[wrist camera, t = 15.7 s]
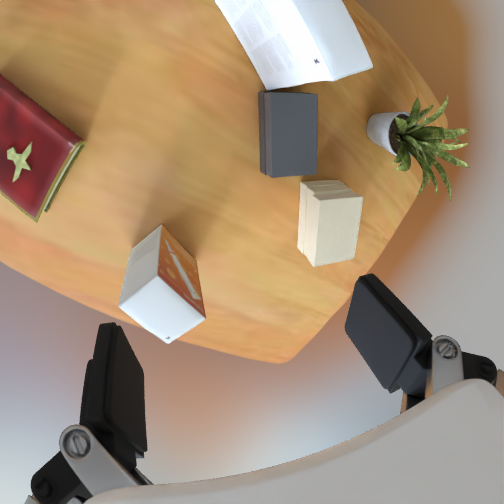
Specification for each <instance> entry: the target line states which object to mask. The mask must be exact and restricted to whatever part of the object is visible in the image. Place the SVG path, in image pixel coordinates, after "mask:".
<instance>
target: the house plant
mask: <svg viewBox="0 0 504 504" xmlns="http://www.w3.org/2000/svg"><path fill="white" fill-rule="evenodd" d="M447 103H448V96H447V98H446V100H445V102H444V104H443V105H442V106H441V108H440V109H439V110H438V111H437V112H436V113H435V114H434V115H432V116H431V117H430V118H428V119H427V118H426V117H425V118H424V121H423V122H422V123H421V124H419V125H418V124H417V122H418V121H419V120H420V119H421V118H422V117H423V116H425V115H426V114H427V113H428V112H429V111H430V110H431V108H432V107H433V105H432V106H430V107H429V108H427V109H425V110H423V111H421V112H420V113H419V111H420V102H419V100H418V97H417V99H416V101H415V102H414V105H413V108H412V111H411V113H410V114H409V113H408V112H388V113H377V114H373V115H372V116H371V117H370V118H369V120H368V123H367V135H368V137H369V139H370V140H371V141H372V142H374V143H375V144H377V145H379V146H381V147H382V148H384V149H386V150H387V151H389V152H391V153H392V154H394V155H396V159H395V161H394V162H393V163H398V162H401V164H400V166H399V167H398V168H395V169H399V170H402V171H407V170H409V168H410V165H411V158H410V155H411V154H412V155H413V157H414V158H415V159H416V160H417V161H418V163H419V164H420V166H421V168H422V170H423V181H422V185H421V187H420V189H419V192H418V195H419V194H420V193H421V192H422V190H423V189H424V187H425V185H426V182H427V181H428V185H429V182H430V179H429V174H430V176H431V179H432V181H433V183H434V185H435V189H436V194H437V182H436V179H435V176H434V174H433V172H432V171H431V168H432V164H433V165H434V166H435V167H436V169H437V170H438V171H439V173H440V175H441V177H442V178H443V181H444V183H445V185H446V186H447V189H448V192H449V198H450V200H451V185H450V182H449V179H448V177H447V174H446V172H445V171H444V169H443V168H442V166H441V165H440V164H439V163H438V162H437V161H436V160H435V159H436V157H435V155H437V156H439V157H440V158H442V159H444V160H446V161H448V162H450V163H452V164H454V165H458V166H464V167H466V168H468V167H469V166H468V165H467V164H466V163H465V162H463V161H462V160H460V159H458V158H456V157H454V156H452V155H450V154H449V153H447V152H445V151H443V150H441V149H447V150H454V149H458V148H461V147H463V146H465V145H466V144H467V143H466V144H460V145H452V144H455V143H452V144H444V143H442V141H441V139H455V140H456V141H457V142H459V143H460V141H459V140H457V139H456V137H458V136H459V135H462V134H464V133H466V132H467V131H468V130H469V129H443V128H442V127H441V128H440V127H434V126H427V127H424V126H425V125H427V124H429V123H431V122H433V121H434V120H436V119H437V118H438V117H439V116H440V115H441V114H442V113H443V111H444V109H445V107H446V105H447ZM418 113H419V114H418ZM437 148H439V149H437ZM419 154H420V156H421V157H422V158H423V159H422V158H421V157H420V156H419ZM434 154H435V155H434ZM418 195H417V196H418Z"/></svg>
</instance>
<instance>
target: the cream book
mask: <svg viewBox="0 0 504 504" xmlns="http://www.w3.org/2000/svg"><path fill="white" fill-rule="evenodd" d="M362 203H363V196H361V195H359V194H358V193H356V192H343V193H329V194H317V195H312V205H311V221H310V235H309V248H308V260H309V261H310V263H311V264H312V265H313V266H314V267H315V266H320V265H325V264H330V263H335V262H340V261H345V260H350V259H354V255H355V249H356V243H357V237H358V231H359V224H360V217H361V210H362Z"/></svg>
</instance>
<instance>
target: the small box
mask: <svg viewBox="0 0 504 504" xmlns="http://www.w3.org/2000/svg"><path fill="white" fill-rule="evenodd" d="M118 306H119V307H120V308H121V309H122V310H123V311H124V312H126V313H127V314H128V315H129V316H130V317H132V318H133V319H134V320H135V321H137V322H138V323H139V324H140V325H141V326H143V327H144V328H145V329H147V330H148V331H150V332H152V333H153V334H154V335H156V336H157V337H159V338H160V339H162V340H163V341H165V342H166V343H167V344H168V343H170V342H171V341H173V340H175V339H176V338H178V337H180V336H181V335H183V334H184V333H186V332H187V331H189V330H190V329H192V328H193V327H195V326H196V325H198V324H199V323H201V322H202V321H204V320H205V319H206V315H205V310H204V304H203V298H202V292H201V286H200V280H199V274H198V267H197V261H196V260H195V259H194V258H193V257H192V256H191V255H190V254H189V253H188V252H187V251H186V250H185V249H184V248H183V247H182V246H181V245H180V244H179V243H178V241H177V240H176V239H175V238H174V237H173V236H172V235H171V234H170V233H169V232H168V230H167V229H166V228H165V227H164V226H163V225H162V224H161V225H160V226H159V227H157V228H156V229H155V230H154V231H153V232H151V233H150V234H149V235H148V236H147V237H145V238H144V239H143V240H142V241H141V242H140V243H138V244H137V245H136V246H135V247H134V248H132V250H131V253H130V256H129V260H128V264H127V268H126V273H125V277H124V281H123V286H122V291H121V296H120V300H119V305H118Z"/></svg>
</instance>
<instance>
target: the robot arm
mask: <svg viewBox="0 0 504 504" xmlns="http://www.w3.org/2000/svg"><path fill="white" fill-rule="evenodd" d="M345 331H346V333H347V335H348V336H349V338H350V339H351V341H352V342H353V344H354V345H355V347H356V348H357V349H358V351H359V352H360V354H361V355H362V357H363V358H364V360H365V361H366V363H367V364H368V366H369V367H370V369H371V370H372V372H373V373H374V375H375V376H376V378H377V379H378V381H379V382H380V384H381V385H382V386H383V388H385V389H388V391H389V392H390V393H393V392H395V391H396V390H398V389H400V388H401V389H402V390H403V398H402V405H401V412H400V415H398V416H396V417H394V418H392V419H391V420H389V421H387V422H385V423H383V424H381V425H379V426H377V427H375V428H373V429H371V430H369V431H367V432H365V433H363V434H361V435H359V436H356V437H354V438H352V439H350V440H347V441H345V442H343V443H340V444H338V445H336V446H333V447H331V448H328V449H325V450H323V451H320V452H317V453H314V454H312V455H309V456H306V457H303V458H300V459H296V460H293V461H290V462H287V463H283V464H280V465H277V466H272V467H269V468H265V469H261V470H257V471H252V472H248V473H243V474H238V475H233V476H227V477H222V478H215V479H208V480H201V481H193V482H184V483H172V484H159V485H158V484H157V485H154V484H153V483H152V482H151V481H150V480H148V479H147V478H146V477H145V476H144V475H143V474H142V473H141V472H140V471H139V470H138V469H137V468H136V466H137V465H136V458H144V452H146V451H147V437H146V422H145V400H144V373H143V369H142V367H141V365H140V363H139V361H138V360H137V358H136V356H135V354H134V352H133V350H132V349H131V346H130V344H129V342H128V340H127V338H126V336H125V334H124V332H123V329H122V328H121V326H117V325H116V323H114V322H112V323H104V324H100V326H99V330H98V334H97V339H96V344H95V349H94V355H93V359H91V360H89V361H88V364H87V369H86V374H85V380H84V387H83V395H82V404H81V413H80V423H79V425H71V426H69V427H67V428H66V429H65V430H64V431H63V432H62V434H61V436H60V440H59V446H60V451H59V452H58V453H57V454H56V455H55V456H54V457H53V458H52V459H51V460H50V461H48V462H47V463H46V464H45V465H44V466H43V467H42V468H41V469H40V470H38V471H37V472H36V473H35V474H34V476H33V477H32V480H31V490H32V493H33V495H32V496H30V495H29V496H28V498H27V500H26V502H25V504H504V371H502V370H500V369H498V370H497V369H496V366H495V364H494V363H493V362H492V360H490V359H489V358H487V357H483V356H478V355H475V354H470V353H466V352H462V351H461V349H460V346H459V344H458V343H457V342H456V341H455V340H454V339H453V338H451V337H449V336H446V335H441V336H437V337H436V338H435V339H434V341H432V340H431V337H432V334H431V333H430V332H429V331H428V330H427V329H426V328H425V327H424V326H423V325H422V323H421V322H420V321H419V320H418V319H417V318H416V317H415V316H414V315H413V314H412V313H411V312H410V310H409V309H407V307H406V306H405V305H404V304H403V303H402V302H401V301H400V300H399V299H398V298H397V297H396V296H395V295H394V294H393V293H392V292H391V291H390V290H389V289H388V288H387V287H386V286H385V285H384V284H383V283H382V282H381V281H380V280H379V279H378V278H377V277H376V276H375V275H374V274H367V275H363V276H360V277H359V278H358V280H357V281H356V283H355V287H354V291H353V296H352V300H351V304H350V308H349V312H348V316H347V319H346V323H345Z"/></svg>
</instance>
